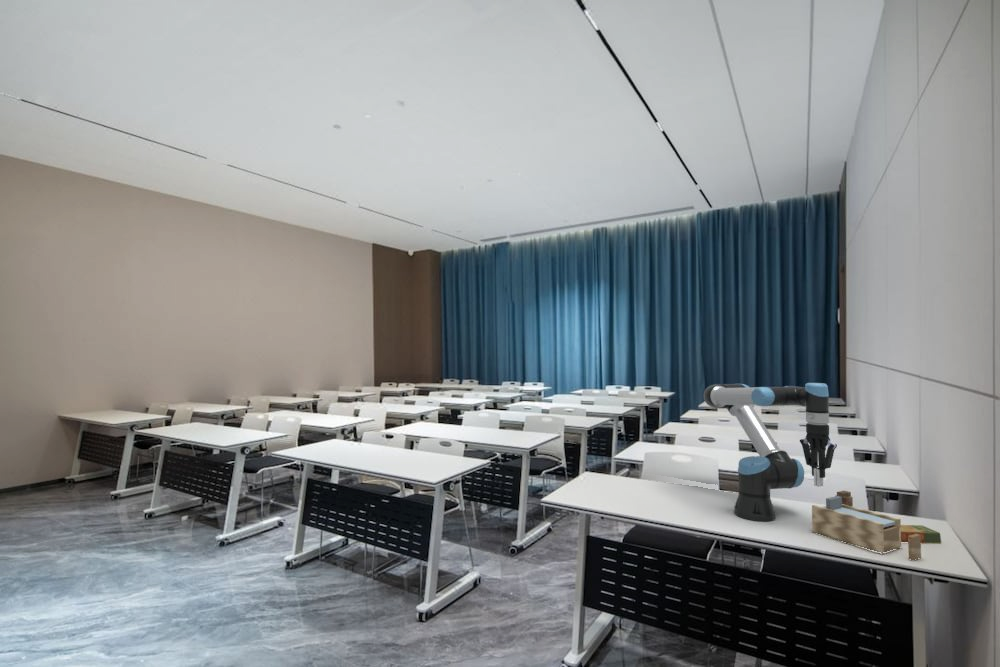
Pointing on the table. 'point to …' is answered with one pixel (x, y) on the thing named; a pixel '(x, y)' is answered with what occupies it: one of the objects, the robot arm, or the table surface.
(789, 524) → the table surface
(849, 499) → the brown block
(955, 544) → the table surface
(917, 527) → the carton
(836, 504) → the lid
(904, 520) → the table surface
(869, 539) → the wooden box
